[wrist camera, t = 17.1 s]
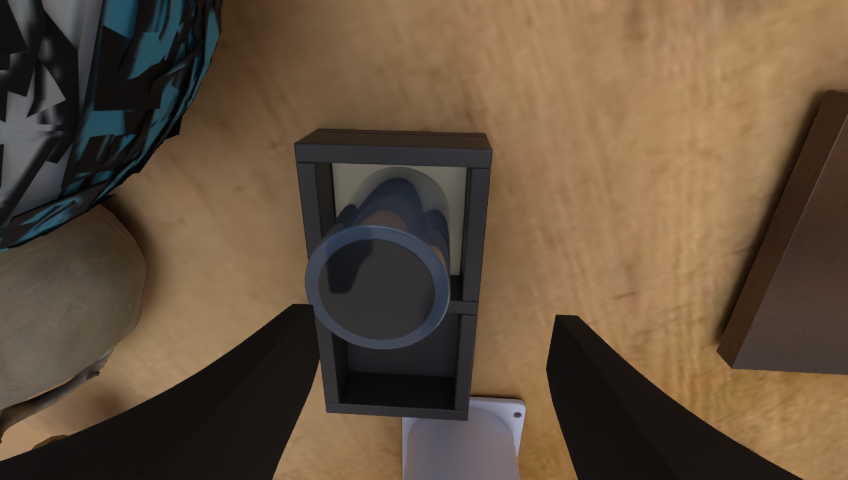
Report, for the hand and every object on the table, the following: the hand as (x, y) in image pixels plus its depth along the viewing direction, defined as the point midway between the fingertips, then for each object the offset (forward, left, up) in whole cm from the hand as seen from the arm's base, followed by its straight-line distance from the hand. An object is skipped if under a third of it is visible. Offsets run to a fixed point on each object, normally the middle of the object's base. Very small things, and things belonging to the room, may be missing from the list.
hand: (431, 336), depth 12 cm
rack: (-3, +2, -10) cm, 11 cm away
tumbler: (0, +2, -9) cm, 9 cm away
